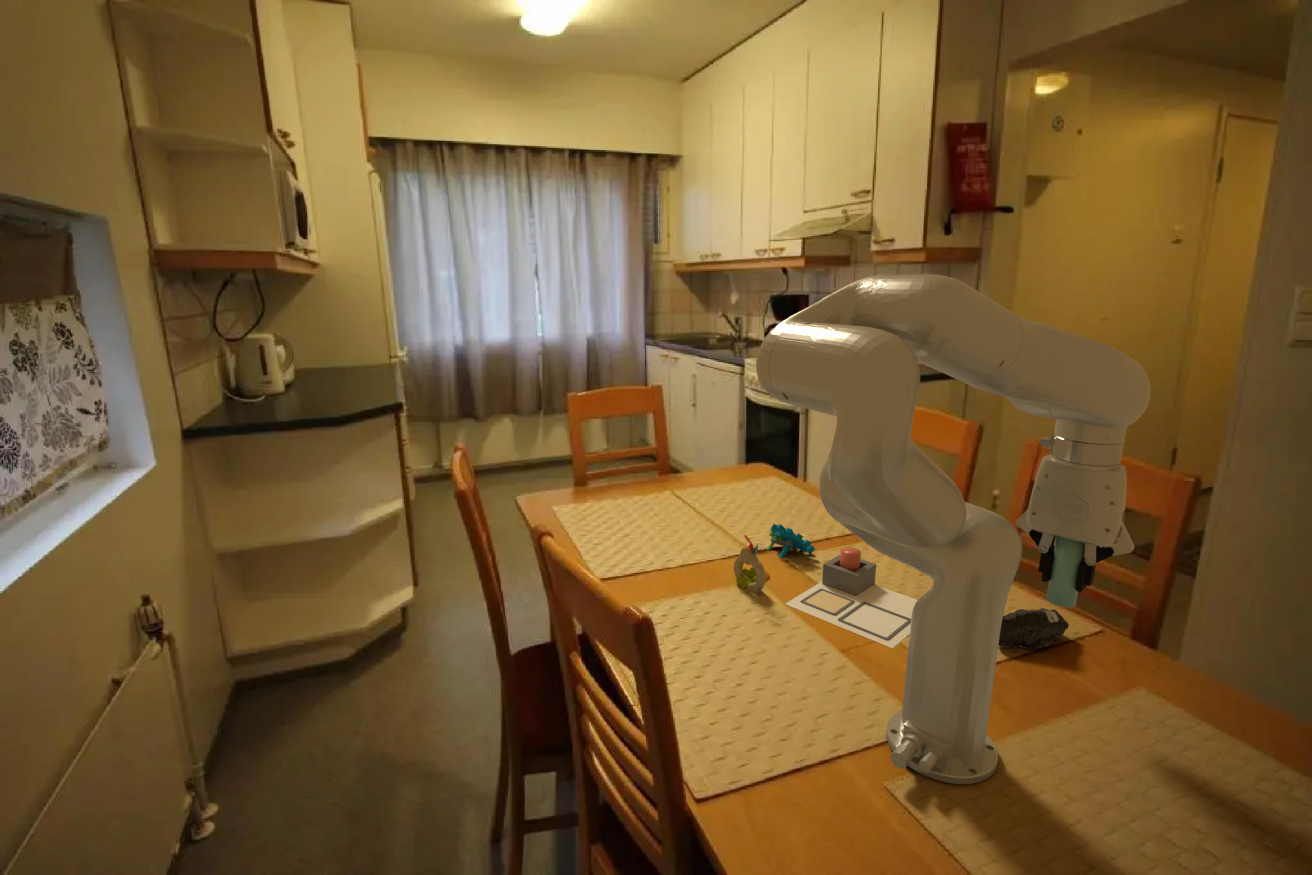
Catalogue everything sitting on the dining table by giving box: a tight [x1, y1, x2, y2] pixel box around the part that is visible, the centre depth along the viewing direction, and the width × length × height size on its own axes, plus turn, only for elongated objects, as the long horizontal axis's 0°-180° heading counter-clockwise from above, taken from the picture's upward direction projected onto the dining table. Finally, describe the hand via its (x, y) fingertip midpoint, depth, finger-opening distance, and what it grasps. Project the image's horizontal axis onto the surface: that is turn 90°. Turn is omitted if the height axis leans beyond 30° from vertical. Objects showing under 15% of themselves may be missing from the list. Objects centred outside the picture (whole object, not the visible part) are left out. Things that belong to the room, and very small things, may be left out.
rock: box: [998, 607, 1070, 650], centre depth 103 cm, size 12×8×10 cm
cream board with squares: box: [784, 581, 918, 650], centre depth 114 cm, size 18×20×1 cm
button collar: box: [821, 554, 877, 596], centre depth 122 cm, size 7×7×4 cm
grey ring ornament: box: [733, 534, 771, 594], centre depth 121 cm, size 8×8×12 cm
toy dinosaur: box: [766, 523, 816, 559], centre depth 135 cm, size 11×6×10 cm
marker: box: [1046, 536, 1085, 608], centre depth 87 cm, size 4×4×11 cm
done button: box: [839, 546, 862, 572], centre depth 121 cm, size 4×4×5 cm
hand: (1064, 582), depth 87 cm, fingers closed on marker, 3 cm apart
